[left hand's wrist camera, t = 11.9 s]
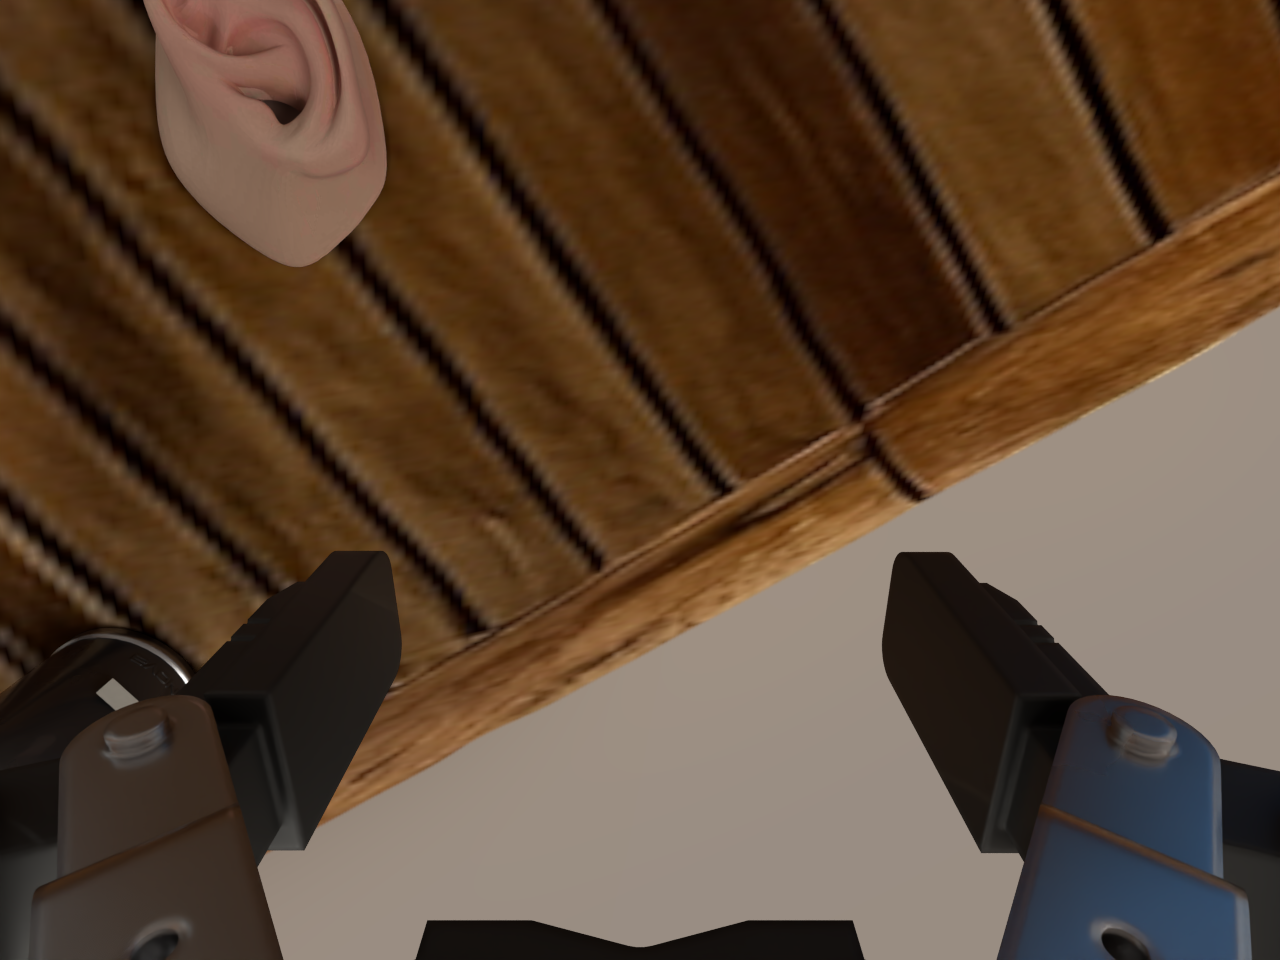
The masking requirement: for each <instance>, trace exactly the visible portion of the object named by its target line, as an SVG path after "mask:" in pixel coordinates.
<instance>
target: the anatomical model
mask: <svg viewBox="0 0 1280 960" xmlns="http://www.w3.org/2000/svg"><path fill="white" fill-rule="evenodd" d="M143 1H144V4H145V7H146V10H147V13H148V15H149V18H150V20H151V23H152V25H153V28H154V30H155V33H156V49H155V84H156V107H157V119H158V126H159V132H160V137H161V141H162V145H163V148H164V151H165V154H166V156H167V159H168V161H169V163H170V165H171V167H172V169H173V171H174V172H175V174H176V176H177V177H178V179H179V180H180V181H181V183H182V184H183V185H184V187H185V188H186V189H187V190H188V192H189V193H190V194H191V195H192V196H193V197H194V198H195V199H196V200H197V202H198V203H199V204H200V205H201V206H202V207H203V208H204V209H205V210H206V211H208V212H209V213H210V214H211V215H212V216H213V217H214V218H215V219H216V220H217V221H219V222H220V223H221V224H222V225H224V226H225V227H226V228H227V229H228V230H230V231H231V232H232V233H233V234H235V235H236V236H237V237H239V238H240V239H242V240H243V241H244V242H246V243H247V244H249V245H250V246H251V247H253V248H254V249H256V250H257V251H259V252H261V253H262V254H264V255H265V256H267V257H269V258H271V259H273V260H275V261H277V262H279V263H281V264H284V265H287V266H292V267H303V266H307V265H310V264H312V263H314V262H316V261H318V260H319V259H321V258H322V257H324V256H325V255H326V254H328V253H329V252H330V251H331V250H332V249H333V248H334V247H336V246H337V245H338V244H339V243H340V242H341V241H342V240H343V239H344V238H345V237H346V236H347V235H348V234H349V233H350V232H351V231H352V230H353V229H354V228H355V227H356V226H357V225H358V224H359V223H360V222H361V220H362V219H363V217H364V216H365V215H366V213H367V212H368V211H369V209H370V208H371V206H372V205H373V204H374V202H375V201H376V199H377V198H378V196H379V194H380V192H381V190H382V188H383V185H384V182H385V178H386V170H387V160H386V145H385V137H384V129H383V123H382V117H381V111H380V105H379V100H378V95H377V90H376V86H375V81H374V78H373V74H372V70H371V67H370V63H369V59H368V56H367V53H366V51H365V48H364V45H363V42H362V40H361V37H360V34H359V32H358V30H357V28H356V26H355V24H354V22H353V20H352V18H351V15H350V14H349V12H348V10H347V8H346V7H345V5H344V3H343V1H342V0H143Z"/></svg>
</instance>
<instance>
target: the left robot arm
mask: <svg viewBox="0 0 1280 960" xmlns="http://www.w3.org/2000/svg"><path fill="white" fill-rule="evenodd" d="M401 647H402V642H401V631H400V624H399V617H398V610H397V603H396V596H395V589H394V582H393V576H392V569H391V563H390V560H389V557H388V555H387V554H386V553H385V552H384V551H334V552H332V553H331V554H330V555H329V556H328V557H327V558H326V559H325V561H324V562H323V563H322V564H321V565H320V566H319V567H318V568H317V569H316V570H315V572H314V573H313V574H312V575H311V576H310V577H309V578H308V579H307V580H306V582H297V583H295V584H293V585H291V586H290V587H288V588H286V589H284V590H283V591H281V592H279V593H277V594H276V595H274V596H272V597H270V598H269V599H267V600H266V601H265V602H264V603H263V604H262V605H261V606H260V607H259V609H258V610H257V611H256V612H255V613H254V614H253V615H252V616H251V617H250V618H249V619H248V623H247V624H243V625H242V626H241V627H240V628H239V629H238V630H237V631H236V632H235V633H234V634H233V636H232V637H231V641H227V642H226V643H225V644H224V645H223V646H222V647H221V648H220V649H219V650H218V651H217V652H216V653H215V654H214V655H213V656H212V657H211V658H210V659H209V660H208V661H207V663H206V664H205V665H204V666H203V667H202V668H201V669H200V670H199V671H198V672H197V673H196V674H195V673H194V671H193V670H192V669H191V667H190V666H189V665H188V664H187V662H186V661H185V660H184V659H183V658H182V657H181V656H180V655H179V654H177V653H176V652H175V651H174V650H172V649H171V648H169V647H168V646H167V645H165V644H163V643H162V642H160V641H158V640H156V639H154V638H152V637H150V636H147V635H145V634H142V633H139V632H135V631H131V630H126V629H119V628H100V629H94V630H89V631H86V632H83V633H81V634H78V635H77V636H75V637H73V638H72V639H70V640H69V641H67V642H66V643H65V644H63V645H62V646H61V647H59V648H58V649H57V650H56V651H55V652H54V653H53V654H52V655H51V656H50V657H49V658H48V659H46V660H45V661H44V662H42V663H41V664H40V665H38V666H37V667H36V668H34V669H33V670H32V671H30V672H29V673H28V674H26V675H25V676H24V677H22V678H21V679H19V680H18V681H17V682H15V683H14V684H13V685H11V686H10V687H9V688H7V689H6V690H5V691H3V692H2V693H1V694H0V960H283V957H282V953H281V950H280V946H279V943H278V939H277V935H276V932H275V928H274V925H273V921H272V918H271V914H270V911H269V907H268V904H267V900H266V897H265V893H264V890H263V886H262V882H261V879H260V875H259V872H258V868H257V867H258V865H259V863H260V862H261V860H262V858H263V857H264V855H265V853H266V852H267V850H305V848H306V846H307V844H308V842H309V840H310V838H311V836H312V835H313V833H314V831H315V829H316V827H317V825H318V823H319V821H320V819H321V818H322V816H323V814H324V812H325V810H326V808H327V806H328V804H329V802H330V800H331V799H332V797H333V795H334V793H335V791H336V789H337V787H338V785H339V783H340V781H341V780H342V778H343V776H344V774H345V772H346V770H347V768H348V766H349V764H350V762H351V761H352V759H353V757H354V755H355V753H356V751H357V749H358V747H359V745H360V743H361V742H362V740H363V738H364V736H365V734H366V732H367V730H368V728H369V726H370V724H371V723H372V721H373V719H374V717H375V715H376V713H377V711H378V709H379V707H380V705H381V704H382V702H383V700H384V698H385V696H386V694H387V692H388V690H389V688H390V686H391V685H392V683H393V681H394V679H395V677H396V674H397V672H398V668H399V664H400V658H401ZM882 654H883V662H884V667H885V671H886V674H887V676H888V679H889V681H890V682H891V684H892V686H893V688H894V690H895V692H896V694H897V696H898V698H899V699H900V701H901V703H902V705H903V707H904V709H905V711H906V713H907V714H908V716H909V718H910V720H911V722H912V724H913V726H914V728H915V729H916V731H917V733H918V735H919V737H920V739H921V741H922V743H923V744H924V746H925V748H926V750H927V752H928V754H929V756H930V758H931V759H932V761H933V763H934V765H935V767H936V769H937V771H938V773H939V775H940V776H941V778H942V780H943V782H944V784H945V786H946V788H947V789H948V791H949V793H950V795H951V797H952V799H953V801H954V803H955V805H956V806H957V808H958V810H959V812H960V814H961V816H962V818H963V820H964V821H965V823H966V825H967V827H968V829H969V831H970V833H971V835H972V836H973V838H974V840H975V842H976V844H977V846H978V848H979V850H980V851H981V853H1019V854H1020V856H1021V858H1022V859H1023V861H1024V865H1023V868H1022V872H1021V875H1020V879H1019V882H1018V886H1017V890H1016V893H1015V897H1014V900H1013V904H1012V907H1011V911H1010V914H1009V918H1008V921H1007V925H1006V929H1005V932H1004V935H1003V939H1002V943H1001V946H1000V950H999V953H998V957H997V960H1280V771H1276V770H1270V769H1266V768H1261V767H1256V766H1251V765H1247V764H1241V763H1237V762H1232V761H1227V760H1223V759H1220V758H1219V756H1218V754H1217V752H1216V750H1215V748H1214V747H1213V746H1212V744H1211V743H1210V742H1209V741H1208V740H1207V739H1206V738H1205V737H1204V736H1203V735H1202V734H1201V733H1200V732H1199V731H1197V730H1196V729H1195V728H1193V727H1192V726H1191V725H1189V724H1188V723H1186V722H1185V721H1183V720H1181V719H1180V718H1178V717H1176V716H1174V715H1172V714H1170V713H1168V712H1166V711H1164V710H1162V709H1160V708H1157V707H1155V706H1152V705H1149V704H1147V703H1144V702H1140V701H1137V700H1134V699H1129V698H1124V697H1119V696H1111V695H1109V694H1107V692H1106V691H1105V690H1104V689H1103V688H1102V687H1101V686H1100V685H1099V684H1098V683H1097V682H1096V681H1095V680H1094V679H1093V678H1092V677H1091V676H1090V675H1089V674H1088V673H1087V672H1086V671H1085V670H1084V669H1083V668H1082V667H1081V666H1080V665H1079V664H1078V663H1077V662H1076V661H1075V660H1074V659H1073V658H1072V656H1071V655H1070V654H1069V653H1068V652H1067V651H1066V650H1065V649H1064V648H1063V647H1062V646H1061V645H1060V644H1059V643H1054V638H1053V637H1052V636H1051V635H1050V634H1049V633H1048V632H1047V631H1046V630H1045V629H1044V628H1043V627H1042V626H1041V625H1037V620H1036V619H1035V618H1034V617H1033V616H1032V615H1031V614H1030V613H1029V612H1028V611H1027V610H1026V609H1025V608H1024V607H1023V606H1022V605H1021V604H1020V603H1019V602H1018V601H1017V600H1015V599H1014V598H1012V597H1010V596H1008V595H1007V594H1005V593H1003V592H1001V591H1000V590H998V589H996V588H994V587H993V586H991V585H989V584H987V583H979V582H978V581H977V580H976V579H975V578H974V577H973V576H972V574H971V573H970V572H969V571H968V570H967V569H966V568H965V567H964V566H963V565H962V563H961V562H960V561H959V560H958V559H957V558H956V557H955V556H954V555H953V554H952V553H950V552H901V553H899V554H898V555H897V556H896V558H895V561H894V564H893V569H892V575H891V582H890V589H889V596H888V603H887V610H886V616H885V623H884V630H883V638H882ZM416 960H864V957H863V953H862V950H861V947H860V943H859V940H858V937H857V933H856V930H855V927H854V923H853V921H852V920H748V921H744V922H741V923H737V924H733V925H729V926H726V927H722V928H718V929H714V930H710V931H707V932H703V933H699V934H695V935H691V936H688V937H684V938H680V939H676V940H672V941H669V942H665V943H661V944H657V945H653V946H649V947H632V946H627V945H623V944H619V943H615V942H611V941H608V940H604V939H600V938H596V937H593V936H589V935H585V934H581V933H577V932H574V931H570V930H566V929H562V928H558V927H554V926H551V925H547V924H543V923H540V922H536V921H531V920H428V921H427V924H426V927H425V930H424V933H423V937H422V940H421V943H420V947H419V950H418V953H417V957H416Z"/></svg>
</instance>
